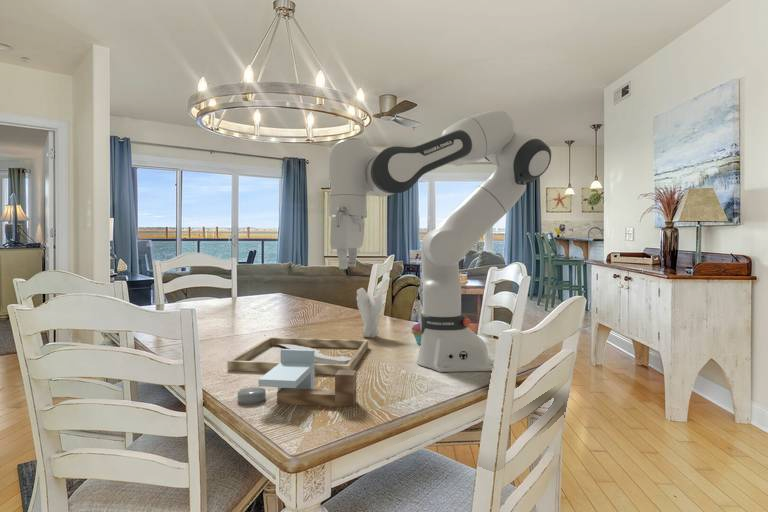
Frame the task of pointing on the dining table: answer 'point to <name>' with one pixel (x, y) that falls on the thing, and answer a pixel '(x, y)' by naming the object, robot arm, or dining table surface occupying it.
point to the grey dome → (251, 395)
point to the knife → (320, 356)
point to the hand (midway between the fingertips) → (347, 267)
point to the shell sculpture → (369, 311)
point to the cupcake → (417, 331)
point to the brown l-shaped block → (324, 393)
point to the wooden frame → (243, 365)
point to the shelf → (292, 371)
